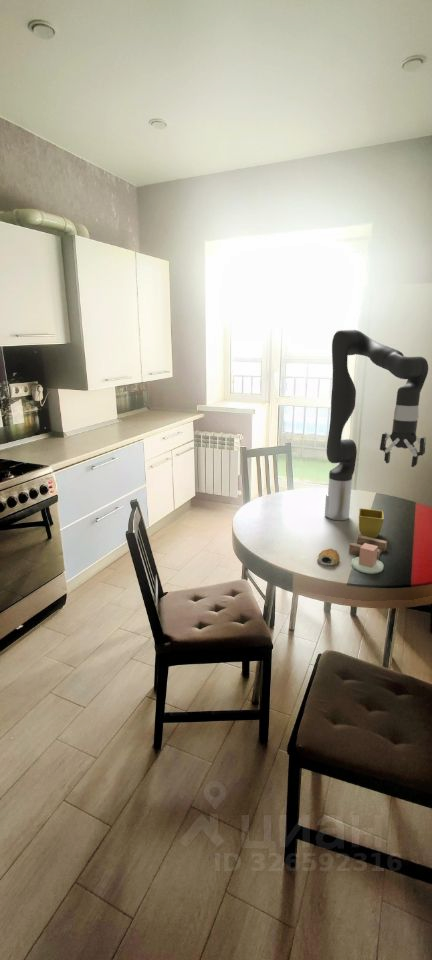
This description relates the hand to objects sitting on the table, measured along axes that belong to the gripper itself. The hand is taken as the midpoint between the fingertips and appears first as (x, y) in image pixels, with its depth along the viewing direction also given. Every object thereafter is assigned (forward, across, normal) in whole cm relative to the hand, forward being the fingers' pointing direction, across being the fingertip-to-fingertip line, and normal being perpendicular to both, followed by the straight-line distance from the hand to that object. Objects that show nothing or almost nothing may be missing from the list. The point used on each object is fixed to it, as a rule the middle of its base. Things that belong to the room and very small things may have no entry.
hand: (400, 464), depth 153 cm
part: (+29, -2, -22) cm, 37 cm away
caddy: (+30, -5, -11) cm, 32 cm away
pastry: (+31, -14, -25) cm, 42 cm away
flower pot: (+30, -9, +3) cm, 32 cm away
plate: (+30, -2, -22) cm, 37 cm away
